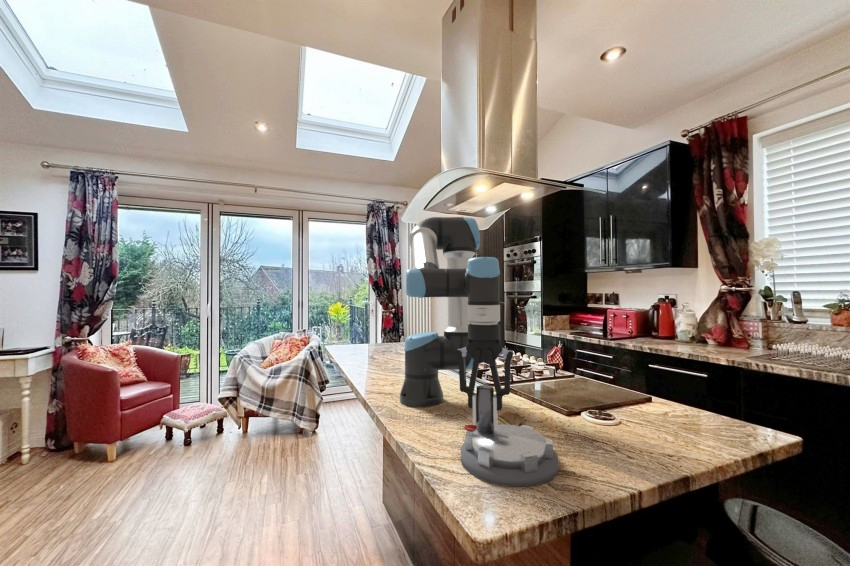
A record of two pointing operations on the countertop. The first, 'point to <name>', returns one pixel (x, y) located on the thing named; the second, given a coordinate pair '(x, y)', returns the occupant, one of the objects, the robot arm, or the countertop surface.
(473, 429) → the cayenne pepper
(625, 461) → the countertop surface
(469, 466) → the base plate
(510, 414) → the shard
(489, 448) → the tabbed dome lid
